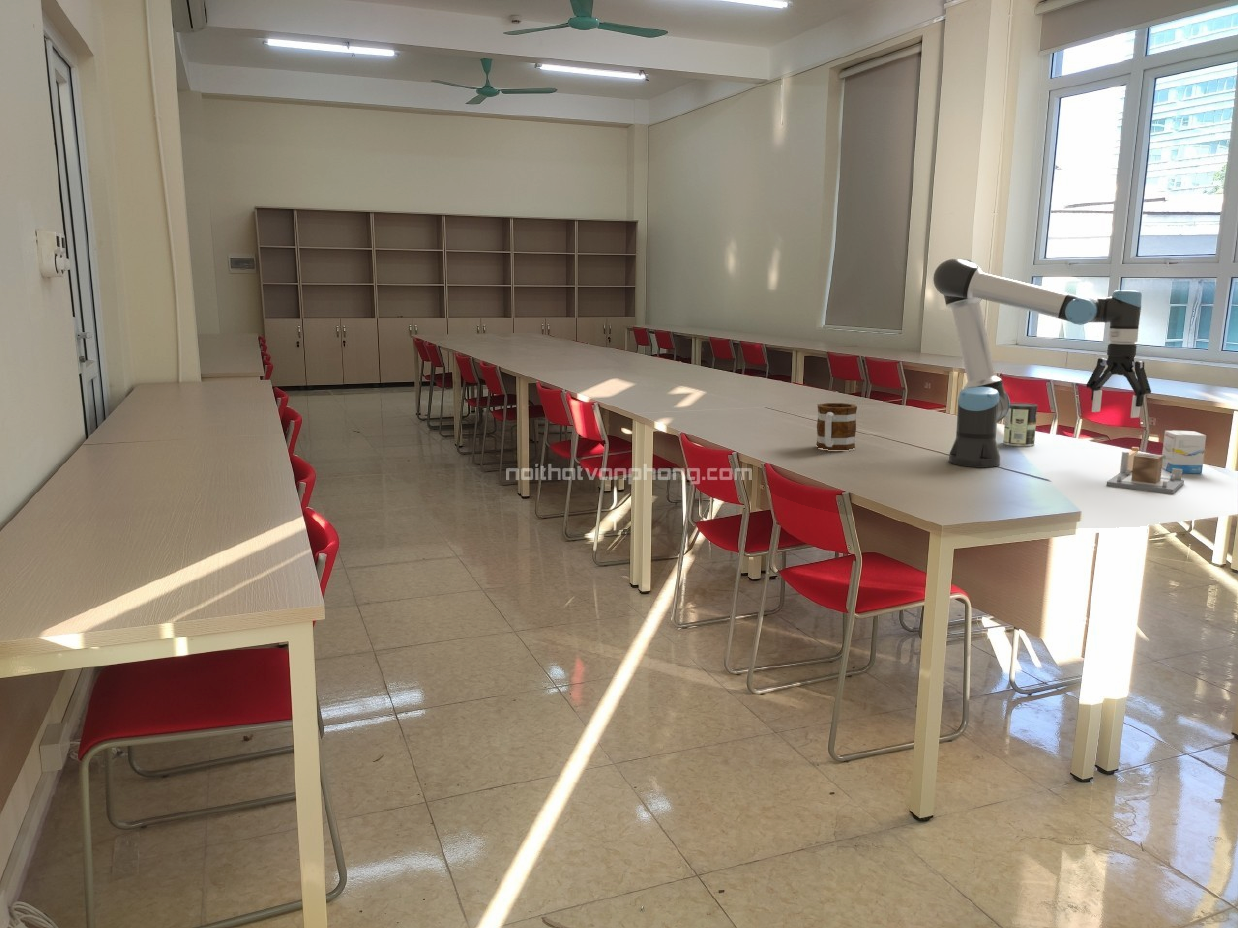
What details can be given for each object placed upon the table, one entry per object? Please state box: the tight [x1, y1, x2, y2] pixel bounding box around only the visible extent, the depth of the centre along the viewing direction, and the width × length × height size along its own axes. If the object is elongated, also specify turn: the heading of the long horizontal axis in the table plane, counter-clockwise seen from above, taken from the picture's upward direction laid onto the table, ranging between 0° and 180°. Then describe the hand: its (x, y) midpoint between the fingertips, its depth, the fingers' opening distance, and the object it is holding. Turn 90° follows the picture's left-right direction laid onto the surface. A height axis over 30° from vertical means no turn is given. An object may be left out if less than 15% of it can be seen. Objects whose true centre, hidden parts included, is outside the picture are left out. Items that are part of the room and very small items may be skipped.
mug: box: [815, 402, 858, 450], centre depth 304 cm, size 20×14×15 cm
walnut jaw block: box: [1131, 452, 1163, 484], centre depth 249 cm, size 6×6×7 cm
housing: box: [1106, 451, 1185, 495], centre depth 250 cm, size 16×18×7 cm
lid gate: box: [1127, 446, 1140, 473], centre depth 267 cm, size 12×2×6 cm, turn 139°
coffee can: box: [1002, 402, 1039, 447], centre depth 313 cm, size 10×10×14 cm
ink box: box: [1161, 430, 1207, 474], centre depth 267 cm, size 8×8×12 cm
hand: (1114, 414), depth 269 cm, fingers open, 12 cm apart
